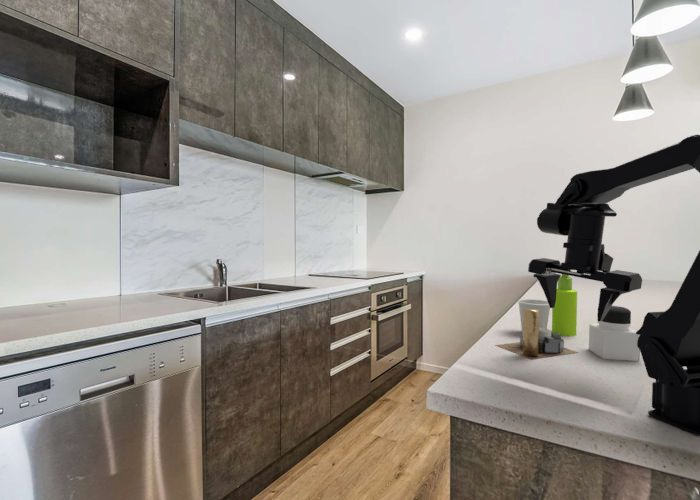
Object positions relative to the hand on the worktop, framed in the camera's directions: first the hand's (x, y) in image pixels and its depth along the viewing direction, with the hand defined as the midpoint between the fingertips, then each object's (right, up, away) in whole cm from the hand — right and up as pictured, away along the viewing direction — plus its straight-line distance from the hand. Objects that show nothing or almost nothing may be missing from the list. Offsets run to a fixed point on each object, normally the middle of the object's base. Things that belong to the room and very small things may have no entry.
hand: (574, 314), depth 72 cm
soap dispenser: (+14, -12, +27) cm, 32 cm away
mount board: (-1, -12, +13) cm, 17 cm away
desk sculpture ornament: (-1, -10, +11) cm, 15 cm away
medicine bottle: (+14, -12, +9) cm, 20 cm away
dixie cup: (+5, -11, +27) cm, 29 cm away
